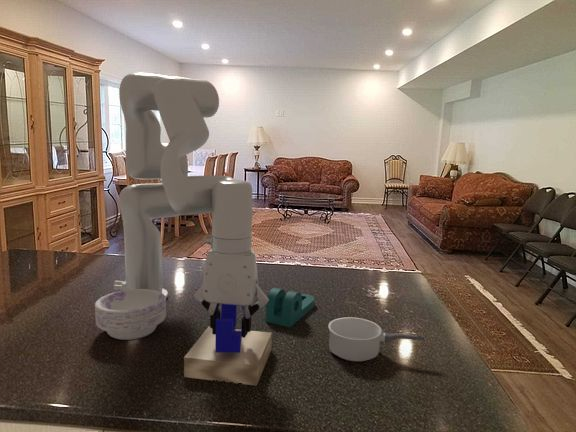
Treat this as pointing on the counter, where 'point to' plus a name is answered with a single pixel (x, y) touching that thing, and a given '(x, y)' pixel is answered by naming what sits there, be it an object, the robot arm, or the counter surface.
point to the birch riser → (229, 359)
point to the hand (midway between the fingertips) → (230, 332)
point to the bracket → (287, 306)
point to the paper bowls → (130, 313)
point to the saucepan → (359, 338)
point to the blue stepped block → (228, 330)
